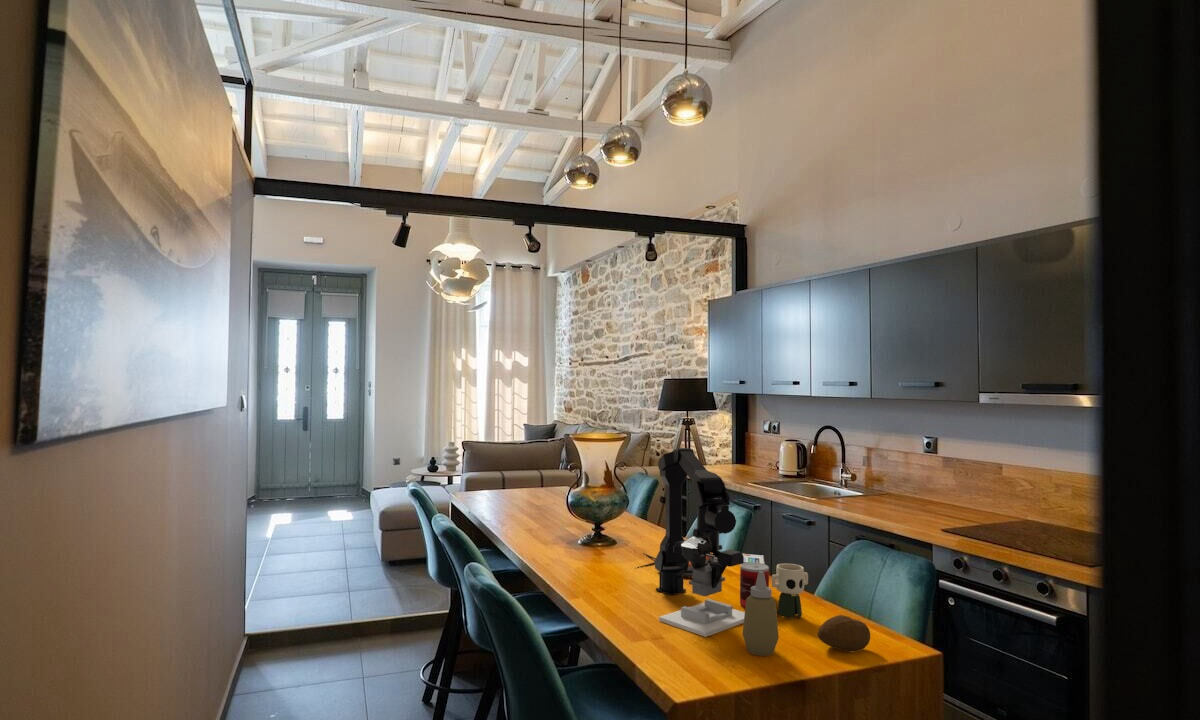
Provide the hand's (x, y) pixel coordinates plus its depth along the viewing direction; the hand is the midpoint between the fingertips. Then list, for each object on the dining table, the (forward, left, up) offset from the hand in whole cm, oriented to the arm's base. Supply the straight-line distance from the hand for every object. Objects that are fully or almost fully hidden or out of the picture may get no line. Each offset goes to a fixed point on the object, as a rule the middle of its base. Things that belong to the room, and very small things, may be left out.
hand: (707, 586), depth 183 cm
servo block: (0, 0, -2) cm, 2 cm away
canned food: (+2, +19, -9) cm, 21 cm away
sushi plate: (-43, +37, -9) cm, 57 cm away
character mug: (+13, +19, -9) cm, 24 cm away
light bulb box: (-4, +27, -9) cm, 29 cm away
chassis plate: (0, 0, -9) cm, 9 cm away
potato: (+34, +8, -9) cm, 36 cm away
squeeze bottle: (+22, -8, -9) cm, 25 cm away
